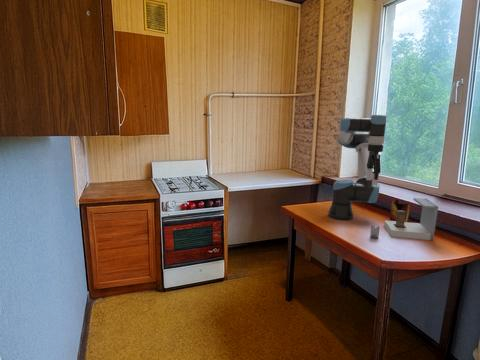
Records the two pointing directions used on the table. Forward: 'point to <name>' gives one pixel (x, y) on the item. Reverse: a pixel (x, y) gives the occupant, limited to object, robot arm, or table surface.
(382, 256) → the table surface
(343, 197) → the robot arm
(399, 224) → the walnut dowel
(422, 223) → the socket block
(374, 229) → the cylinder
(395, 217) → the mug
